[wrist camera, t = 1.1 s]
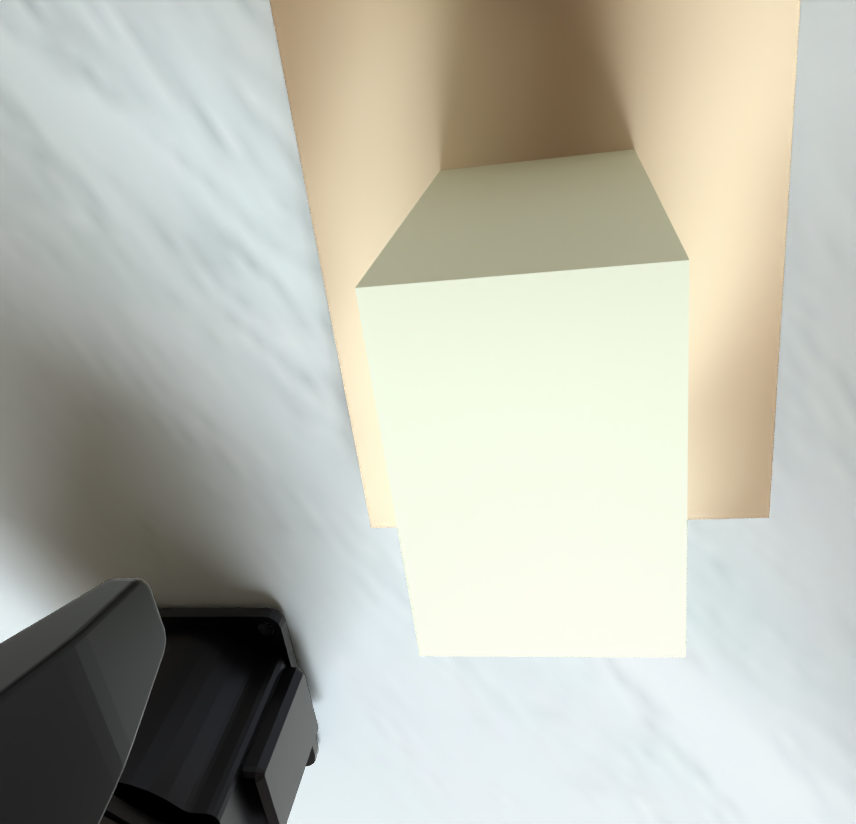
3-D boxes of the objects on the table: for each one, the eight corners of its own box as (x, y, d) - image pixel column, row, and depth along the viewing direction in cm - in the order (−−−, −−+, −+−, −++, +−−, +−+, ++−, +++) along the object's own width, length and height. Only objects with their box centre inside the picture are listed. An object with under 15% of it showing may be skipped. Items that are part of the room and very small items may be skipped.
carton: (470, 422, 20) (419, 655, 13) (440, 170, 17) (354, 288, 10) (642, 413, 19) (689, 657, 12) (637, 148, 16) (693, 259, 9)
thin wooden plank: (382, 497, 23) (358, 562, 20) (206, -466, 14) (126, -574, 12) (755, 485, 21) (783, 554, 18) (813, -635, 12) (882, -807, 10)
